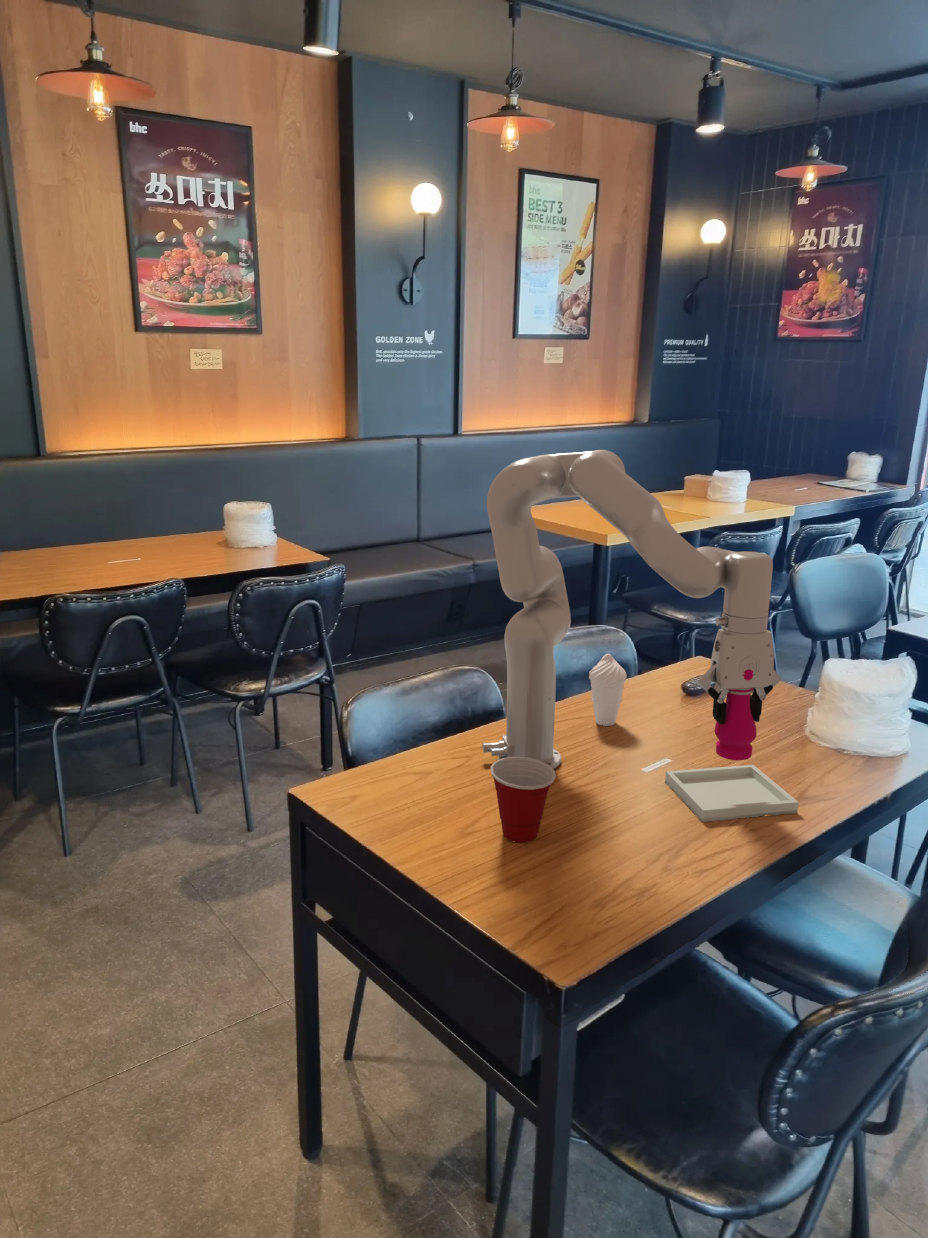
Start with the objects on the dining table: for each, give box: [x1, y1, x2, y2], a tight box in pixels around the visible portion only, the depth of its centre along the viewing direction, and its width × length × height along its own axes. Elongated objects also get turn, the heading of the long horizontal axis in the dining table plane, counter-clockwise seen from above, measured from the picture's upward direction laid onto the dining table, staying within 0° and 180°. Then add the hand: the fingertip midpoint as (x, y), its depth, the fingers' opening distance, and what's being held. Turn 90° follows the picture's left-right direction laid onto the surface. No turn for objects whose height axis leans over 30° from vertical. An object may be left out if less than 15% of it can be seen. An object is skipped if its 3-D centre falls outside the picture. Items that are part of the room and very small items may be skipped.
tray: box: [664, 764, 799, 823], centre depth 160 cm, size 18×16×2 cm
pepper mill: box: [714, 669, 757, 761], centre depth 156 cm, size 7×7×20 cm
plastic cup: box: [490, 757, 557, 844], centre depth 145 cm, size 11×11×12 cm
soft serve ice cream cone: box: [588, 653, 627, 727], centre depth 194 cm, size 8×8×16 cm
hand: (736, 719), depth 157 cm, fingers closed on pepper mill, 5 cm apart
